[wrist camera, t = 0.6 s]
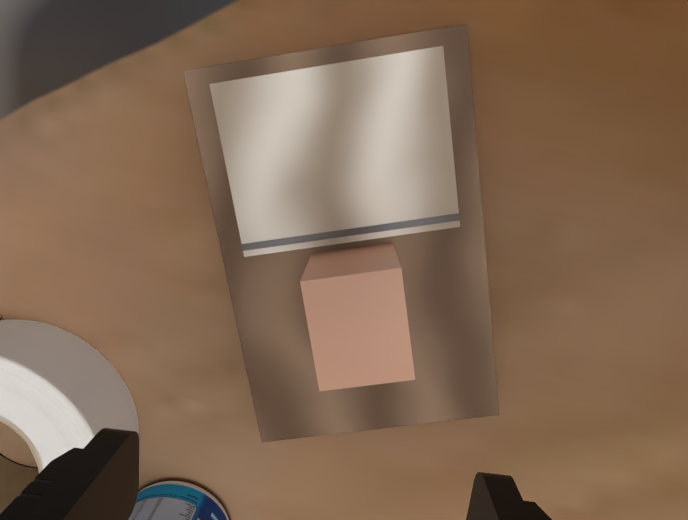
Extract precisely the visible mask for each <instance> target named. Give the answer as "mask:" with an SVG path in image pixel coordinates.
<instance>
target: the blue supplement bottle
mask: <svg viewBox="0 0 688 520" xmlns="http://www.w3.org/2000/svg"><path fill="white" fill-rule="evenodd" d="M128 520H229V518H228V516H227V513H226V511H225V509H224V508H223V506H222V505H221V504H220V502H219V501H218V500H217V499H216V498H215V497H214V496H213V495H212V494H210V493H209V492H208V491H206V490H204V489H203V488H201V487H199V486H196V485H194V484H190V483H187V482H181V481H164V482H158V483H155V484H152V485H149V486H147V487H145V488H144V489H142V490H140V491H139V492H138V495H137V499H136V503H135V506H134V509H133V511H132V514H131V516H130V518H129V519H128Z"/></svg>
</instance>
